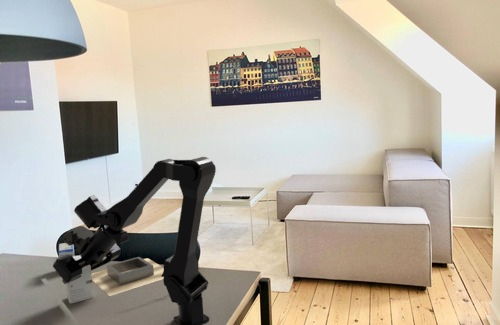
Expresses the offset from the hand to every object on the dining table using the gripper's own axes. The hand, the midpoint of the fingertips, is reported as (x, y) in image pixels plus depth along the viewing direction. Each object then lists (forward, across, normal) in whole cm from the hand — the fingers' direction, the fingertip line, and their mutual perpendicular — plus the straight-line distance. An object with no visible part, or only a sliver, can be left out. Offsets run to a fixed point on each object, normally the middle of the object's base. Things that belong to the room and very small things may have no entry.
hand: (74, 276), depth 108 cm
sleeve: (0, -16, +8) cm, 18 cm away
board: (+1, -16, +8) cm, 18 cm away
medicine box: (+18, -15, -8) cm, 25 cm away
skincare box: (+4, 0, +6) cm, 7 cm away
